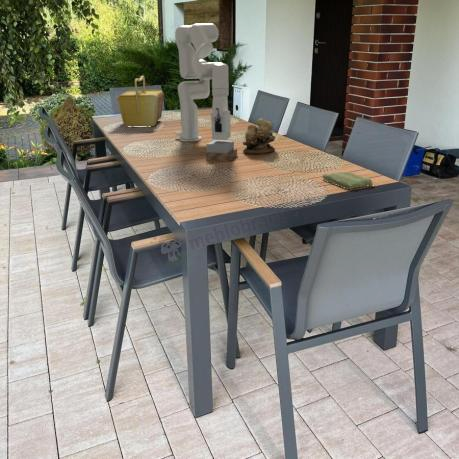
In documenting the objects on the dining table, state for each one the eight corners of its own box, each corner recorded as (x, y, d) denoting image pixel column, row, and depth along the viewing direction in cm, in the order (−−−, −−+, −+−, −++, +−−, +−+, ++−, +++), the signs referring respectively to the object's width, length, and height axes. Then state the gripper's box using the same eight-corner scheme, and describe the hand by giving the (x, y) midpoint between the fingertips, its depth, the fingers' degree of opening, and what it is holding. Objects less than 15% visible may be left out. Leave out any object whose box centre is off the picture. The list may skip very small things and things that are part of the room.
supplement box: (231, 137, 229) (230, 110, 224) (225, 140, 223) (225, 113, 218) (216, 136, 231) (216, 110, 226) (211, 139, 225) (210, 112, 220)
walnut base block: (205, 160, 226) (205, 152, 225) (214, 155, 237) (213, 147, 235) (229, 162, 223) (229, 154, 221) (237, 156, 234) (237, 148, 232)
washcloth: (344, 176, 200) (345, 168, 199) (374, 187, 186) (375, 179, 185) (319, 180, 195) (320, 172, 194) (348, 192, 180) (348, 184, 179)
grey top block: (207, 152, 226) (206, 143, 224) (214, 147, 234) (214, 139, 233) (226, 153, 222) (226, 145, 221) (233, 149, 231) (233, 140, 229)
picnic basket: (159, 128, 302) (156, 78, 290) (119, 128, 303) (114, 79, 291) (165, 120, 329) (162, 74, 317) (128, 120, 330) (124, 75, 318)
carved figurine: (268, 147, 249) (269, 114, 242) (281, 152, 239) (282, 118, 232) (238, 151, 241) (238, 117, 235) (249, 156, 232) (250, 121, 225)
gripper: (218, 89, 227) (219, 126, 234) (206, 94, 212) (207, 133, 219) (233, 90, 225) (234, 127, 232) (222, 94, 210) (222, 134, 217)
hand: (221, 130), depth 225 cm, fingers closed on supplement box, 7 cm apart
